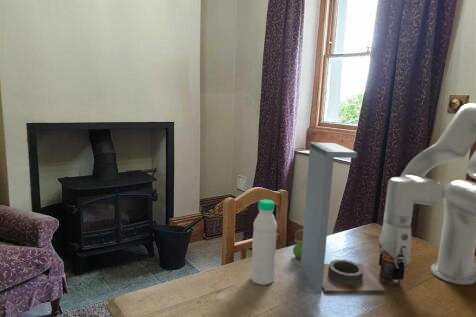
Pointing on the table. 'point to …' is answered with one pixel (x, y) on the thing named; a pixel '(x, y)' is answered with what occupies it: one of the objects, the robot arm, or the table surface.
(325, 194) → the grey l-shaped stand
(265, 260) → the water bottle
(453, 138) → the robot arm
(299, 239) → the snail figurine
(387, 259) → the supplement bottle
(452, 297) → the table surface
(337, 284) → the socket
